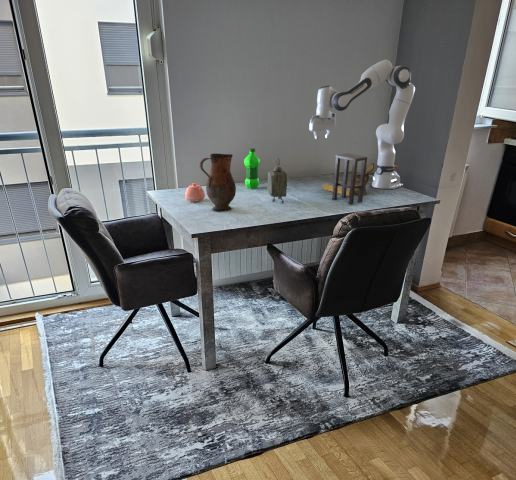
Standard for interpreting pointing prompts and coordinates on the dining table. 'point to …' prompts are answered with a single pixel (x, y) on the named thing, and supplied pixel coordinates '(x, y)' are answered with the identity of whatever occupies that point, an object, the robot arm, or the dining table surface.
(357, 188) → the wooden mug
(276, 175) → the tabletop clock
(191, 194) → the sugar bowl
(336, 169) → the stand
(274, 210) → the dining table surface
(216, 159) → the pitcher
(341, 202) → the dining table surface
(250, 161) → the plastic bottle
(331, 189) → the bar
